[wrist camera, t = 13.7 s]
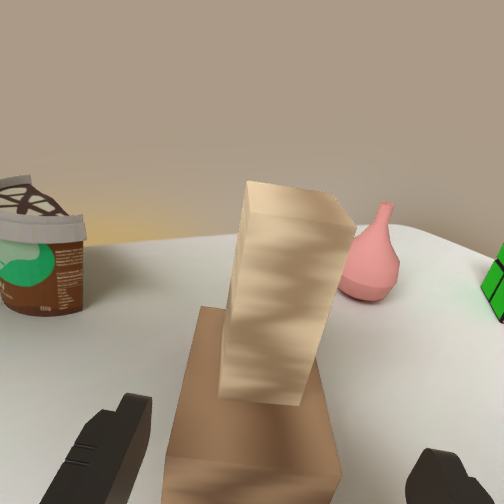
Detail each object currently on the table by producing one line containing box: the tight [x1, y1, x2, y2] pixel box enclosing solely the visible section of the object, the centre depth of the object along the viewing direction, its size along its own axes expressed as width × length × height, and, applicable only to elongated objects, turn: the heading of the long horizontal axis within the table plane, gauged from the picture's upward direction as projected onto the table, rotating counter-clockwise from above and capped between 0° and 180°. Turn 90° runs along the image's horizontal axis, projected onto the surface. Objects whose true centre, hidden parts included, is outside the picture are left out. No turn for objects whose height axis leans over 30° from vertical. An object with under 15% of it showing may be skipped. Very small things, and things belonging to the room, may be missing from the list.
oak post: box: [218, 181, 357, 406], centre depth 21 cm, size 5×5×12 cm
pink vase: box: [338, 202, 400, 301], centre depth 42 cm, size 8×8×12 cm
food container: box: [0, 175, 87, 317], centre depth 32 cm, size 12×6×10 cm, turn 47°
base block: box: [161, 306, 342, 504], centre depth 25 cm, size 9×13×5 cm
